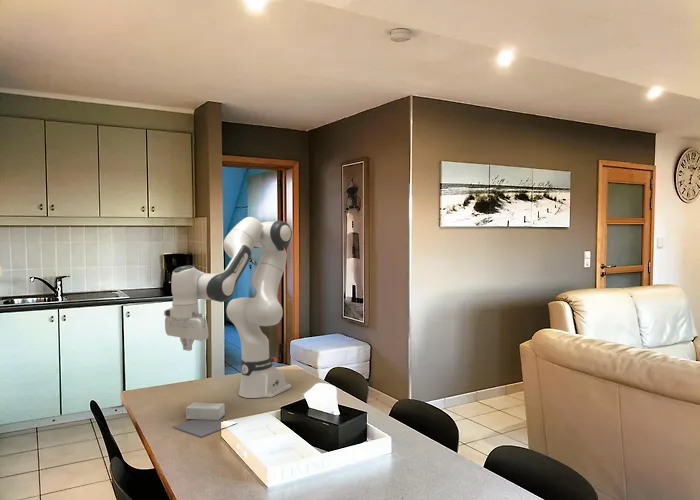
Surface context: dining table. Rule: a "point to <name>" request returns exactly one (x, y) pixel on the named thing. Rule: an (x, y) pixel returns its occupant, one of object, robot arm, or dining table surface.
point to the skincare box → (205, 411)
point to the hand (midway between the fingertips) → (187, 350)
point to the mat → (200, 427)
